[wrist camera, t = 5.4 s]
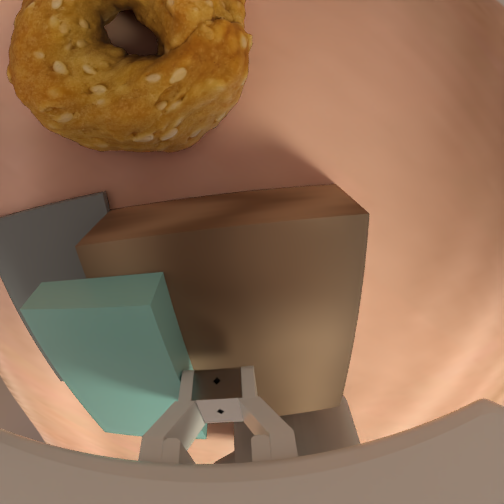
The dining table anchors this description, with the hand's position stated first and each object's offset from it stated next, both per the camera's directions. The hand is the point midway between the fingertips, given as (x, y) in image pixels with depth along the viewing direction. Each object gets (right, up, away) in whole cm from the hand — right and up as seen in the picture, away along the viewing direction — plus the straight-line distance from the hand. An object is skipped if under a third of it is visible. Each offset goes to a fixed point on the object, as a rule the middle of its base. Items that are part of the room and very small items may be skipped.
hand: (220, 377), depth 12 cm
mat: (-10, +1, +5) cm, 11 cm away
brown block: (0, +3, +5) cm, 5 cm away
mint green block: (-5, 0, +1) cm, 5 cm away
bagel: (-4, +14, -1) cm, 15 cm away
